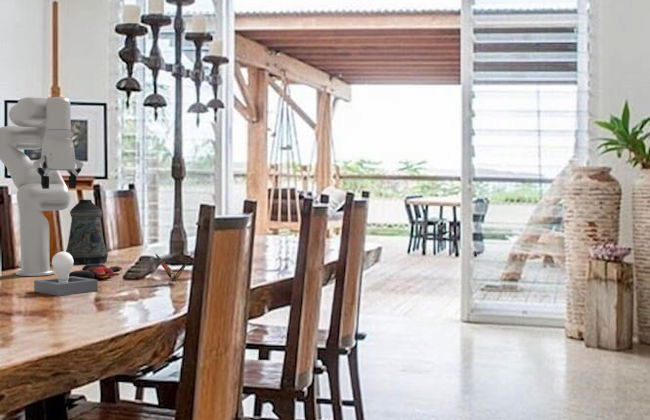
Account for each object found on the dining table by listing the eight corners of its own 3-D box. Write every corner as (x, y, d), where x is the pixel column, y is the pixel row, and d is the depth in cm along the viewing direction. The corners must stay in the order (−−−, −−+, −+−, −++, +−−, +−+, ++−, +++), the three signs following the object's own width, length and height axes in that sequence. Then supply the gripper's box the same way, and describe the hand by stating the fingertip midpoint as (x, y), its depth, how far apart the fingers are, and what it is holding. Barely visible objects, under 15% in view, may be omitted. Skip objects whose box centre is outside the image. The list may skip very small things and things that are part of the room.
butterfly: (150, 286, 237) (150, 254, 236) (158, 282, 246) (158, 251, 246) (188, 287, 236) (188, 255, 236) (195, 282, 246) (195, 252, 245)
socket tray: (34, 291, 225) (34, 280, 225) (73, 286, 235) (72, 276, 235) (58, 296, 217) (58, 284, 217) (97, 290, 227) (97, 279, 227)
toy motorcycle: (66, 287, 246) (115, 279, 246) (63, 271, 246) (112, 263, 246) (87, 278, 271) (131, 271, 271) (84, 264, 271) (129, 257, 271)
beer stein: (87, 265, 292) (87, 200, 291) (50, 262, 300) (49, 199, 299) (116, 261, 307) (116, 199, 306) (80, 259, 315) (79, 198, 314)
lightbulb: (53, 290, 222) (52, 253, 221) (51, 287, 227) (50, 251, 226) (75, 288, 224) (74, 252, 224) (72, 286, 230) (71, 250, 229)
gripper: (75, 137, 255) (76, 188, 256) (27, 134, 242) (28, 188, 242) (88, 136, 250) (89, 188, 251) (40, 134, 237) (40, 188, 238)
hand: (59, 188), depth 247 cm, fingers open, 9 cm apart
